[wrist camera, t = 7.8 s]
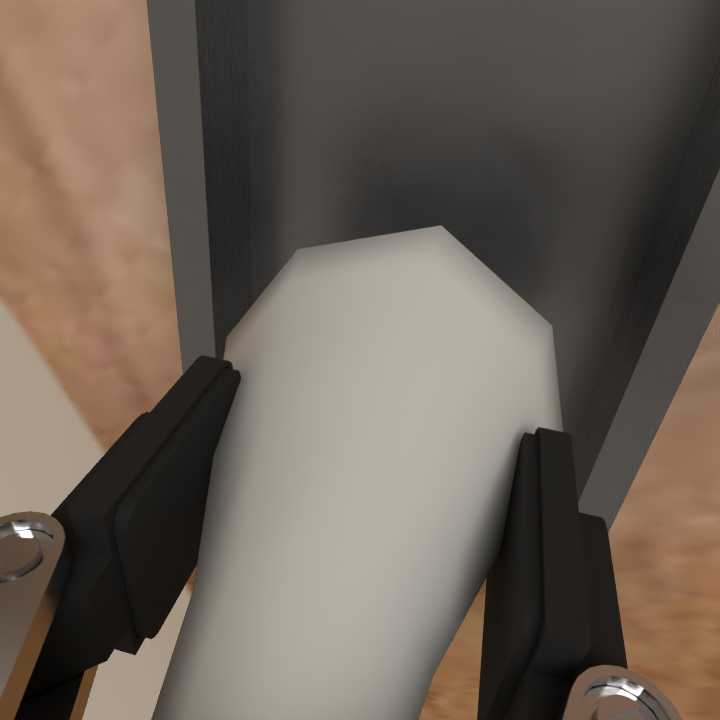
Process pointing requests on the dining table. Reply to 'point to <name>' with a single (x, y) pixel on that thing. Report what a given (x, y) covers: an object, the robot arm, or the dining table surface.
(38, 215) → the dining table surface
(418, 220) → the track
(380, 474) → the flask
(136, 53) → the dining table surface
